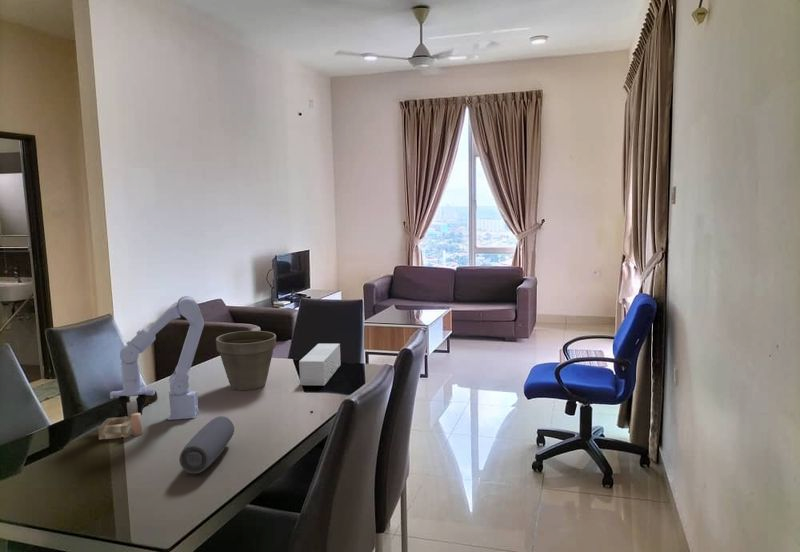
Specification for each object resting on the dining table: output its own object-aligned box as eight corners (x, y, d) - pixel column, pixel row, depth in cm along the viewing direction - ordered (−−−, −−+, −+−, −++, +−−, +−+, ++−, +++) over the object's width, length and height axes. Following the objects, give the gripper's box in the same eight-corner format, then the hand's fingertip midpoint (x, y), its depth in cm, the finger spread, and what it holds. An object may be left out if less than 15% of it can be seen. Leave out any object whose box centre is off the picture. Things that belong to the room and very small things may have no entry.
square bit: (141, 420, 201) (139, 398, 200) (138, 423, 198) (136, 401, 197) (131, 420, 201) (129, 399, 200) (128, 424, 198) (126, 402, 197)
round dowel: (143, 432, 191) (141, 412, 190) (140, 435, 188) (139, 415, 187) (134, 432, 191) (132, 413, 190) (131, 436, 188) (129, 416, 187)
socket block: (135, 427, 196) (135, 416, 195) (127, 437, 187) (126, 425, 187) (108, 429, 194) (107, 418, 194) (99, 439, 186) (98, 427, 185)
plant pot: (290, 381, 244) (288, 333, 242) (247, 398, 223) (244, 345, 221) (250, 374, 257) (247, 328, 255) (206, 389, 237) (203, 339, 234)
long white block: (319, 365, 271) (318, 343, 270) (340, 365, 270) (339, 343, 268) (300, 385, 239) (299, 361, 238) (324, 386, 238) (323, 361, 237)
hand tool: (125, 417, 206) (124, 405, 206) (117, 416, 207) (116, 404, 207) (163, 400, 224) (162, 389, 223) (155, 399, 225) (154, 388, 225)
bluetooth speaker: (208, 444, 180) (206, 414, 178) (236, 444, 179) (235, 414, 178) (178, 478, 157) (175, 444, 156) (211, 477, 157) (208, 443, 156)
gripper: (155, 374, 203) (158, 410, 204) (113, 377, 200) (116, 413, 202) (150, 379, 196) (153, 417, 197) (106, 382, 193) (109, 420, 195)
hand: (134, 415), depth 199 cm, fingers closed on square bit, 3 cm apart
